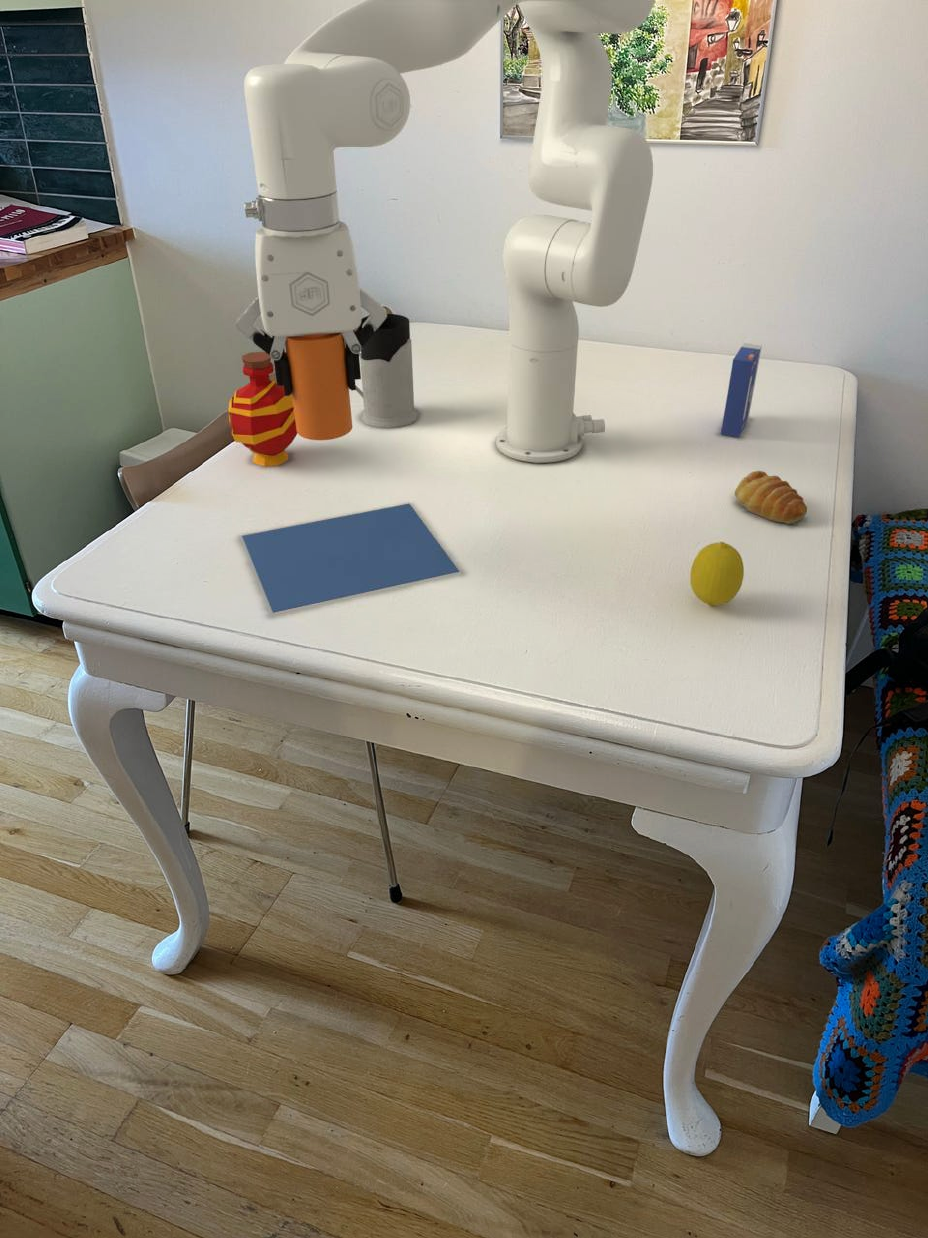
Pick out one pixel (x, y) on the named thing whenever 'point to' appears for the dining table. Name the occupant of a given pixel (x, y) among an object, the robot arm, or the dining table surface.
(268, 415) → the potion bottle
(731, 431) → the walkman
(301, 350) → the bottle
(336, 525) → the cloth
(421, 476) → the dining table surface
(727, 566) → the lemon
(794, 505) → the pastry
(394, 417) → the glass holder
